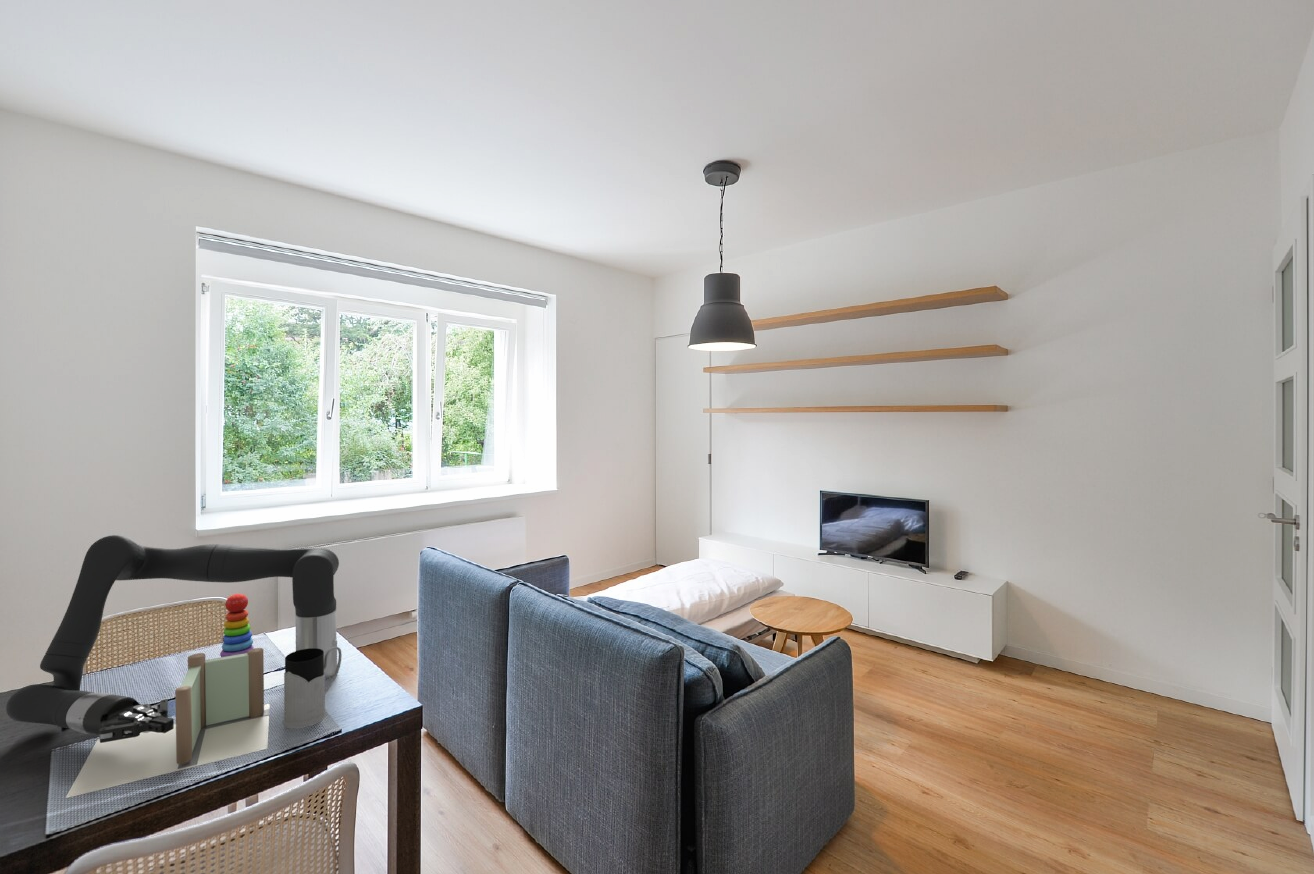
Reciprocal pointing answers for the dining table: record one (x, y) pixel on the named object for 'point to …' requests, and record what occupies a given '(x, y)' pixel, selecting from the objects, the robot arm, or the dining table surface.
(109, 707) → the robot arm
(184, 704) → the fence panel
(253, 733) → the card
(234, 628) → the stacking toy
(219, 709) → the fixed fence
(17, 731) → the dining table surface
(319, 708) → the grey and black mug
